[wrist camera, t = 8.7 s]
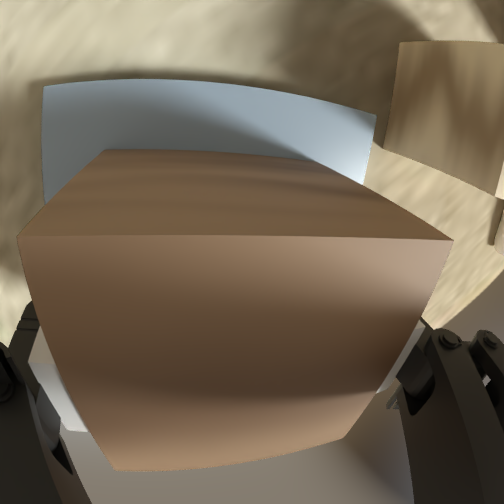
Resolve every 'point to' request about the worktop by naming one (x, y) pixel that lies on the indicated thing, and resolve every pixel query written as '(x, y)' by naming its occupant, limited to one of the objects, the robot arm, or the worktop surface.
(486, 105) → the oak brick
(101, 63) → the worktop surface
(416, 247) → the walnut brick
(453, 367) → the robot arm
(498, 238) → the sitting furry creature
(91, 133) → the plate
